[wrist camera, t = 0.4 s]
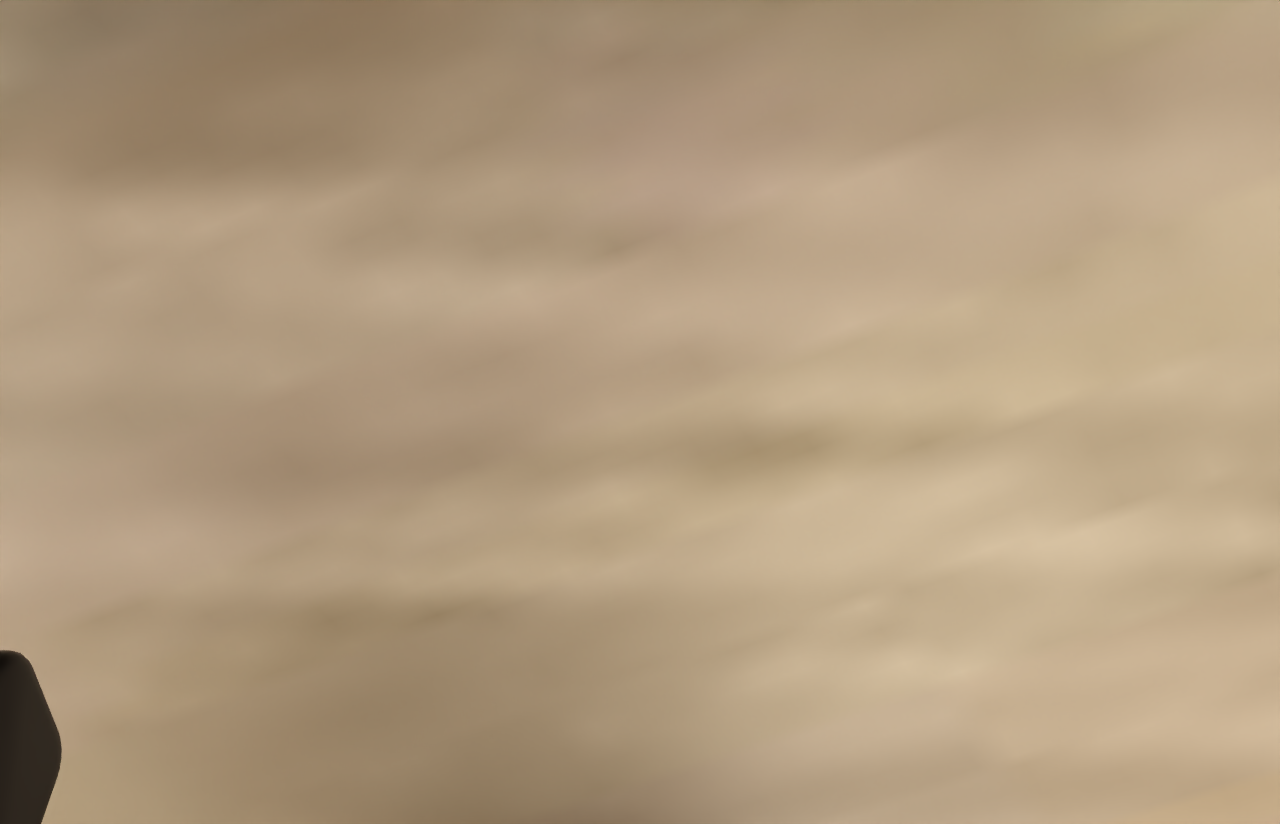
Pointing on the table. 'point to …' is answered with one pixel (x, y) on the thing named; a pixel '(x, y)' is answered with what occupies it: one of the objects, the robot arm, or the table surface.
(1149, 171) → the table surface
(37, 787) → the robot arm
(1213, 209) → the table surface
